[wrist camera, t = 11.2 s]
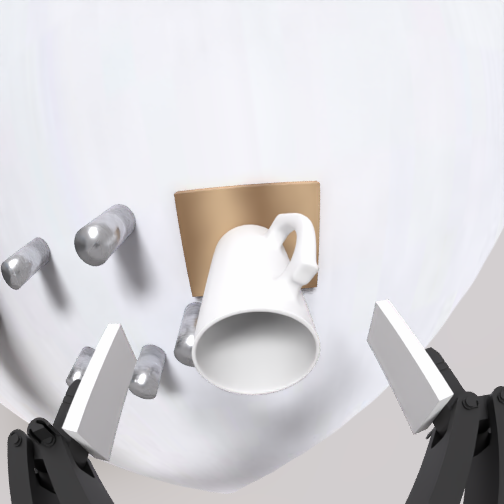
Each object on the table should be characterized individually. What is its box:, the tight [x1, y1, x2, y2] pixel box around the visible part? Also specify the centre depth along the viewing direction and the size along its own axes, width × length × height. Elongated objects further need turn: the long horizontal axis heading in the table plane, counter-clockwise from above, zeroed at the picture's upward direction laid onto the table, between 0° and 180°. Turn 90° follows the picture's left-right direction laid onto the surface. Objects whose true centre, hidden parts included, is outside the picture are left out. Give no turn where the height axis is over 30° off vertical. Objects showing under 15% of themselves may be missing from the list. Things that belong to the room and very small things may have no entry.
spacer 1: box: [1, 238, 50, 290], centre depth 21 cm, size 3×3×6 cm
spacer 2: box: [66, 347, 95, 386], centre depth 28 cm, size 3×3×6 cm
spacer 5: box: [174, 302, 201, 367], centre depth 25 cm, size 3×3×6 cm
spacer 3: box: [74, 204, 135, 266], centre depth 21 cm, size 3×3×6 cm
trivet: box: [174, 181, 320, 297], centre depth 24 cm, size 12×10×1 cm
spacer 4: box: [129, 345, 166, 399], centre depth 28 cm, size 3×3×6 cm
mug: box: [192, 213, 320, 395], centre depth 18 cm, size 10×7×12 cm, turn 151°
